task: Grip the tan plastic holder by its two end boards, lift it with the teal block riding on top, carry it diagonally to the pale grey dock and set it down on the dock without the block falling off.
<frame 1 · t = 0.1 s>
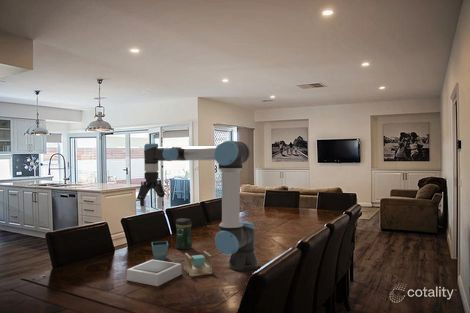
hand: (151, 210, 196), 28 cm above the table, tool pointing down, fingers open, 13 cm apart
flower pot: (159, 259, 200), on the table
tan plastic holder: (198, 271, 178), on the table, touching teal block
coffee jar: (183, 248, 224), on the table
dock: (154, 277, 170), on the table
teal block: (197, 264, 178), point 3 cm above the table, touching tan plastic holder
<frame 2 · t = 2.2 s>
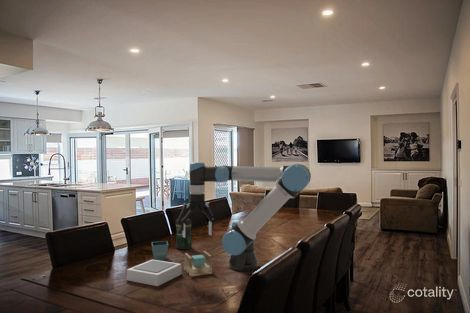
hand: (197, 236, 178), 18 cm above the table, tool pointing down, fingers open, 13 cm apart
nothing on the table moved.
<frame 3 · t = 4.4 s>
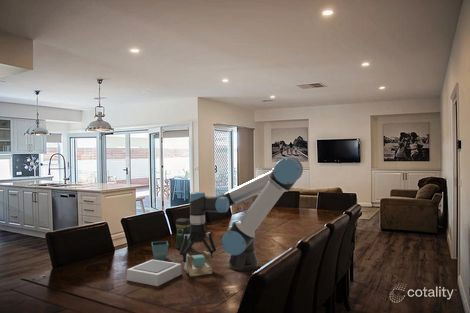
hand: (197, 267, 178), 2 cm above the table, tool pointing down, fingers closed on tan plastic holder, 11 cm apart
tan plastic holder: (198, 271, 178), on the table, touching teal block, gripper
everything else where it was.
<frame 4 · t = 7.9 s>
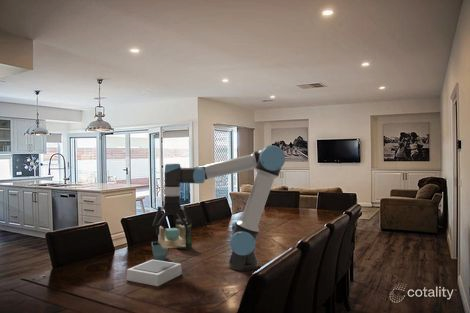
hand: (171, 240, 173), 17 cm above the table, tool pointing down, fingers closed on tan plastic holder, 11 cm apart
tan plastic holder: (171, 244, 173), point 15 cm above the table, touching teal block, gripper
teal block: (171, 237, 173), point 18 cm above the table, touching tan plastic holder
everything else where it was.
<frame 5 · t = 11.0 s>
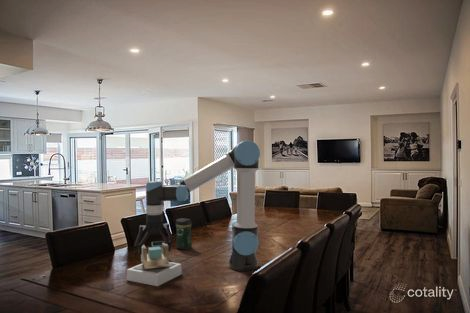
hand: (154, 259, 170), 8 cm above the table, tool pointing down, fingers closed on tan plastic holder, 11 cm apart
tan plastic holder: (154, 264, 170), point 6 cm above the table, touching teal block, gripper
teal block: (154, 256, 170), point 10 cm above the table, touching tan plastic holder
everything else where it was.
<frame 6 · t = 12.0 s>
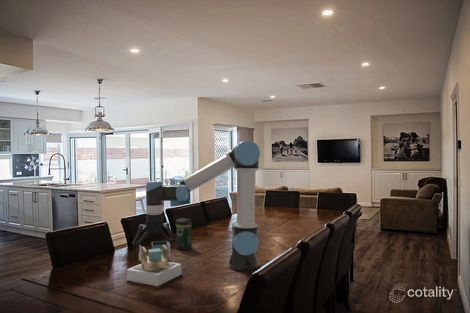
hand: (154, 258, 170), 9 cm above the table, tool pointing down, fingers open, 13 cm apart
tan plastic holder: (154, 266, 170), point 5 cm above the table, touching teal block, dock
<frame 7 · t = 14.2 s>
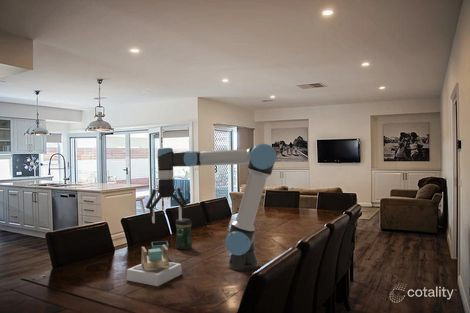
hand: (167, 221, 178), 25 cm above the table, tool pointing down, fingers open, 13 cm apart
nothing on the table moved.
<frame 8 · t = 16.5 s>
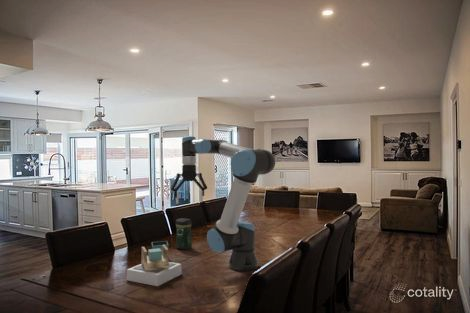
hand: (189, 202, 198), 32 cm above the table, tool pointing down, fingers open, 13 cm apart
nothing on the table moved.
at the end: tan plastic holder inside the target area on the dock (0.1 cm from its centre), point 5.3 cm above the dock's base; teal block 0.0 cm off-centre on the tan plastic holder, point 3.5 cm above the tan plastic holder's base; teal block tilted 0° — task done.
